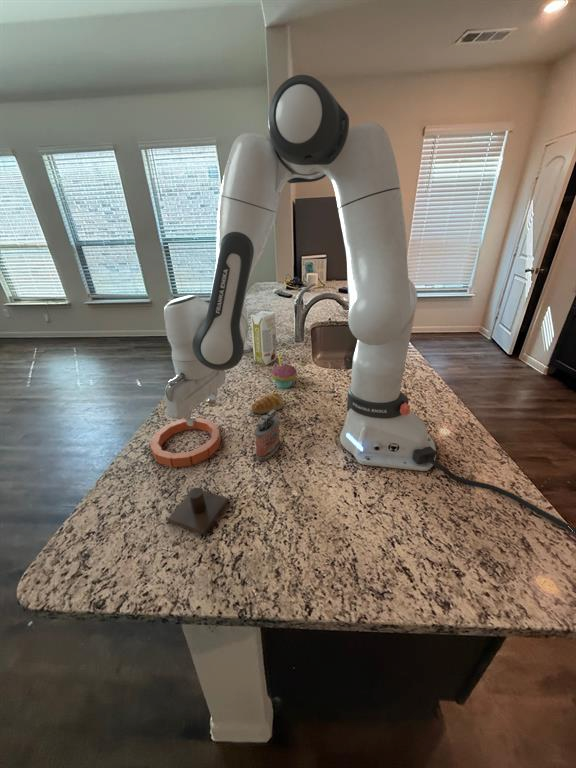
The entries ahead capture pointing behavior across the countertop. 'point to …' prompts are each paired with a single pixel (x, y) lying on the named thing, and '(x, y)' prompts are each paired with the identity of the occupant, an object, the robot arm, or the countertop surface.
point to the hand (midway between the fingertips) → (202, 414)
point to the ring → (186, 457)
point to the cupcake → (283, 374)
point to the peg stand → (198, 511)
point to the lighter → (267, 436)
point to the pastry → (268, 403)
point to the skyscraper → (245, 314)
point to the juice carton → (264, 337)
